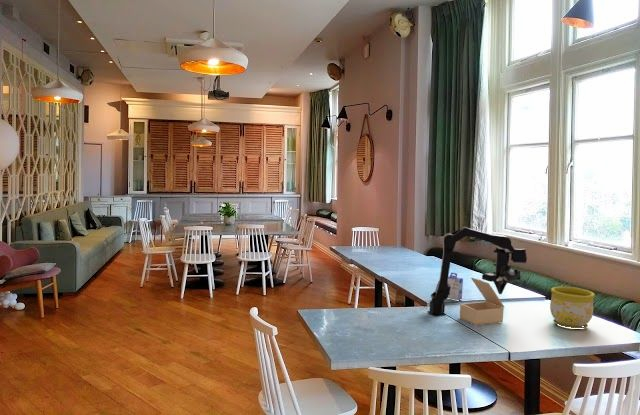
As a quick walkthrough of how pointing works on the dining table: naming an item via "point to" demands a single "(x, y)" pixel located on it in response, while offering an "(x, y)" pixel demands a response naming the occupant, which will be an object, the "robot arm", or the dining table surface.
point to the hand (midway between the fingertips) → (500, 294)
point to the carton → (481, 313)
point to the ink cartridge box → (455, 287)
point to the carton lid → (487, 292)
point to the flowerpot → (571, 306)
